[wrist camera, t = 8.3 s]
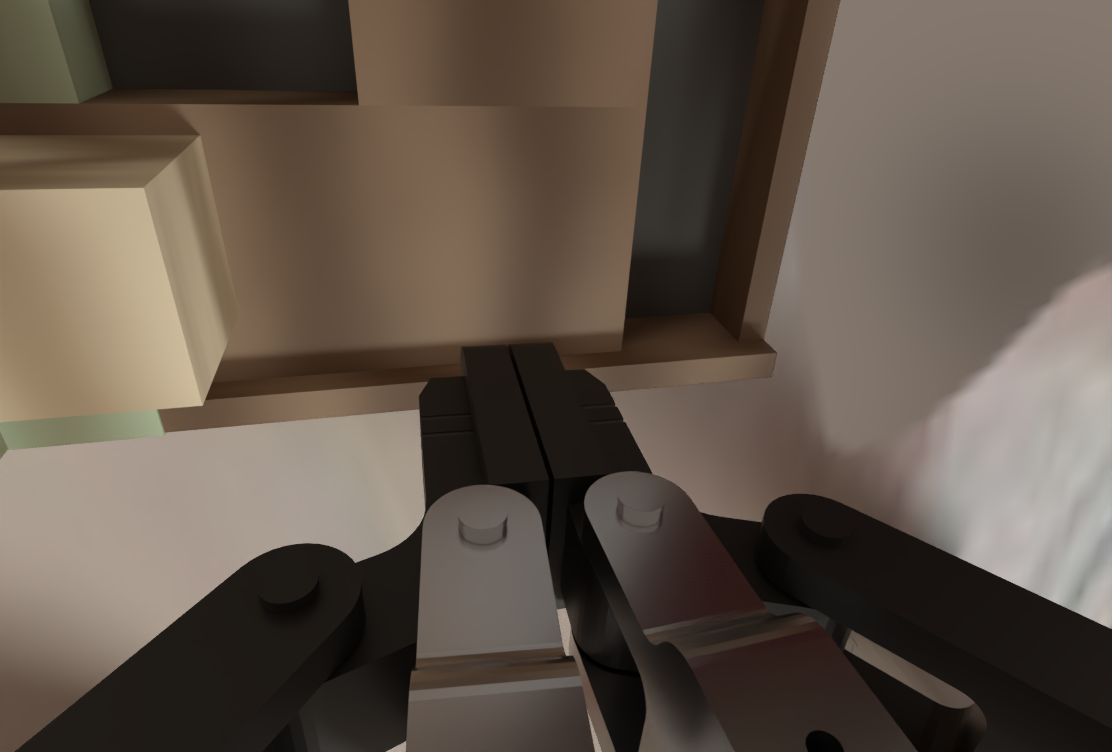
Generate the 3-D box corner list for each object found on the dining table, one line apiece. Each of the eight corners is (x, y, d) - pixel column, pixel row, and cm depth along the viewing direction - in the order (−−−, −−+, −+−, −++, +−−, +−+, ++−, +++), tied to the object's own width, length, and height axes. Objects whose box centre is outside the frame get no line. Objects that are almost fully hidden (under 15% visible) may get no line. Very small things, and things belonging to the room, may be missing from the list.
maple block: (200, 135, 17) (143, 187, 13) (239, 313, 19) (202, 405, 15) (-29, 135, 16) (-173, 192, 12) (44, 323, 18) (-53, 426, 14)
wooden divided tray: (834, -259, 18) (1007, -347, 13) (723, 329, 27) (800, 408, 22) (-308, -423, 13) (-744, -677, 8) (31, 379, 22) (-71, 498, 17)
